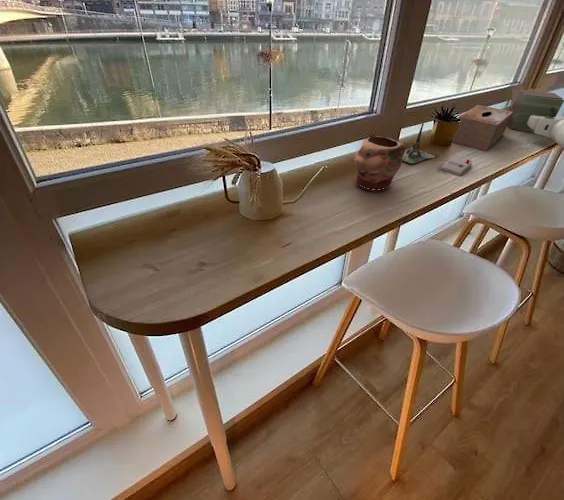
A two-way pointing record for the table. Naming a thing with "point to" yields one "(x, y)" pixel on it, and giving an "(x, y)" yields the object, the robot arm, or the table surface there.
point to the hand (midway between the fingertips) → (551, 118)
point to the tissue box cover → (482, 126)
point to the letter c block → (535, 110)
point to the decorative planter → (378, 162)
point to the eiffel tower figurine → (416, 152)
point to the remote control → (456, 166)
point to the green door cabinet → (521, 97)
